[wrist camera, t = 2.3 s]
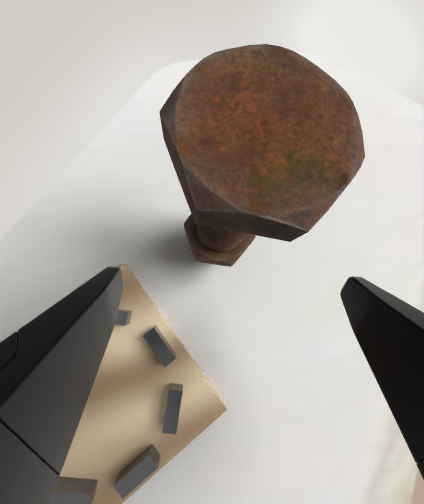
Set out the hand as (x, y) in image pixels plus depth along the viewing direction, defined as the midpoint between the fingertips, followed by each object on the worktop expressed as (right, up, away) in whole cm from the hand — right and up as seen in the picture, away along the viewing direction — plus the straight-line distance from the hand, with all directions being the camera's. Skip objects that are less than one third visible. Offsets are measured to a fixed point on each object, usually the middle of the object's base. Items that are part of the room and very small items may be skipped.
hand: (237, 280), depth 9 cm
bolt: (-1, +2, +12) cm, 12 cm away
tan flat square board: (-10, -10, +9) cm, 16 cm away
